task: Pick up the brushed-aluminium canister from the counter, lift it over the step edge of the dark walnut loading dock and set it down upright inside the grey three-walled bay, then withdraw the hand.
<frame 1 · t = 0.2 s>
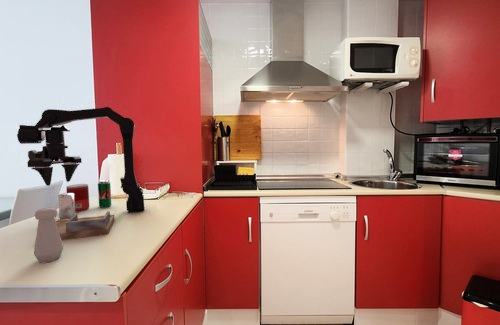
hand: (58, 183, 97), 14 cm above the counter, tool pointing down, fingers open, 9 cm apart
canister: (67, 219, 96), on the counter
salt shaker: (49, 259, 63), on the counter
dock: (81, 230, 84), on the counter
canned food: (78, 210, 111), on the counter
soda can: (105, 206, 116), on the counter
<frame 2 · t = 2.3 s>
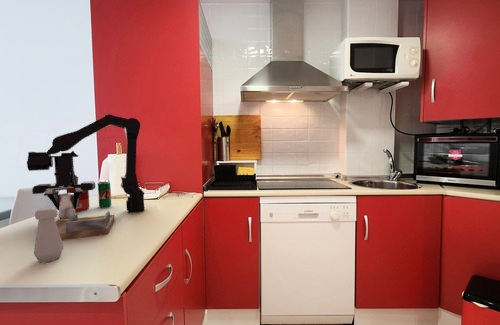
hand: (67, 209, 96), 4 cm above the counter, tool pointing down, fingers closed on canister, 5 cm apart
canister: (67, 219, 96), on the counter, touching gripper
everything else where it was.
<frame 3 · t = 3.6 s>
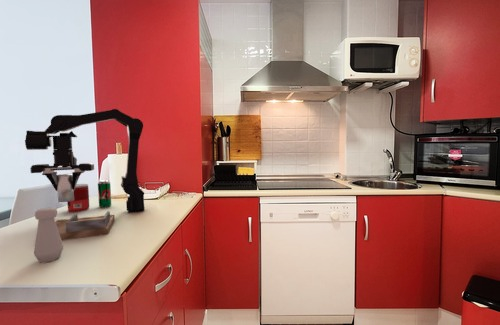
hand: (65, 190, 95), 12 cm above the counter, tool pointing down, fingers closed on canister, 5 cm apart
canister: (66, 200, 95), point 8 cm above the counter, touching gripper
everything else where it was.
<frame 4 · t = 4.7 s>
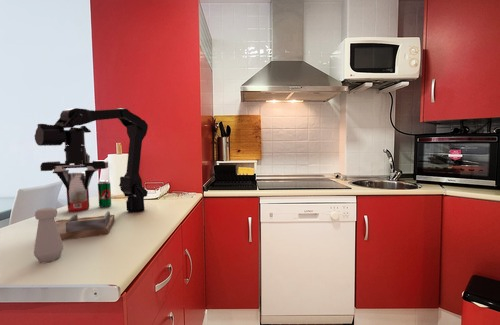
hand: (77, 189, 87), 13 cm above the counter, tool pointing down, fingers closed on canister, 5 cm apart
canister: (78, 201, 88), point 9 cm above the counter, touching gripper
everything else where it was.
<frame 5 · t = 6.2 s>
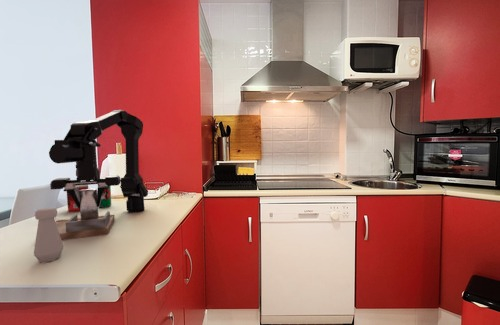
hand: (89, 207, 83), 8 cm above the counter, tool pointing down, fingers closed on canister, 5 cm apart
canister: (90, 219, 83), point 4 cm above the counter, touching gripper
everything else where it was.
when the fingers open (7 cm above the counter, at t = 7.1 s): canister drops 1 cm, resting on dock.
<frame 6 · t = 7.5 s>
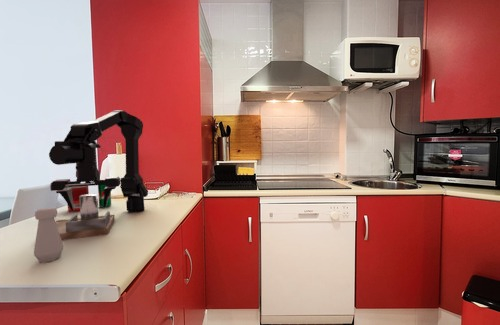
hand: (89, 208, 83), 7 cm above the counter, tool pointing down, fingers open, 9 cm apart
canister: (90, 224, 83), point 2 cm above the counter, touching dock
everything else where it was.
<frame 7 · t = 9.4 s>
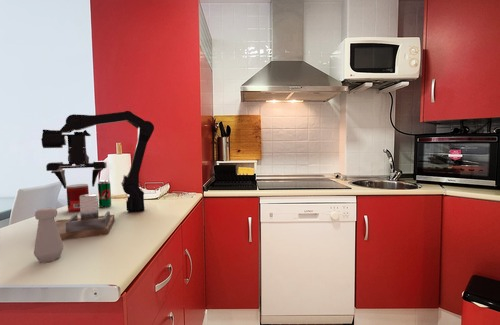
hand: (79, 187, 98), 12 cm above the counter, tool pointing down, fingers open, 9 cm apart
nothing on the counter moved.
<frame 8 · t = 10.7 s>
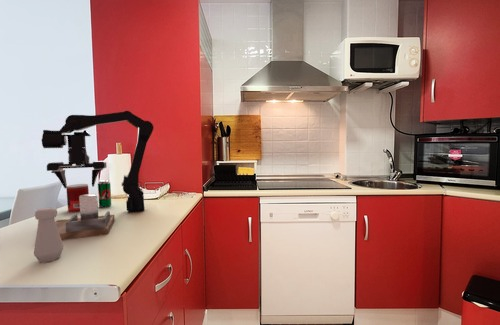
hand: (79, 187, 98), 12 cm above the counter, tool pointing down, fingers open, 9 cm apart
nothing on the counter moved.
at the end: canister 0.0 cm from the target spot, point 2.0 cm above the counter; canister tilted 1°; the gripper is holding nothing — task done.
